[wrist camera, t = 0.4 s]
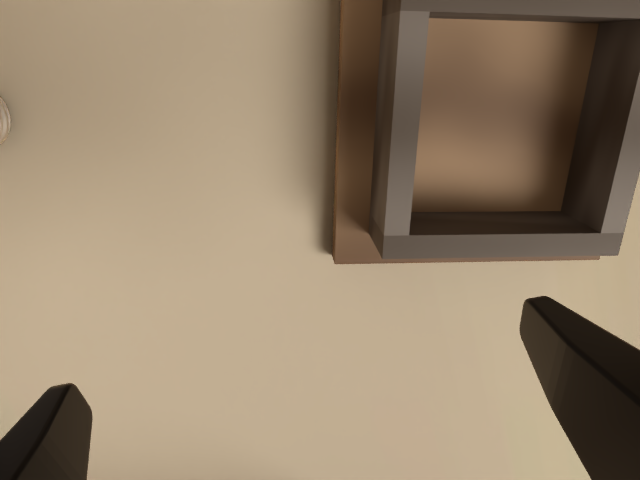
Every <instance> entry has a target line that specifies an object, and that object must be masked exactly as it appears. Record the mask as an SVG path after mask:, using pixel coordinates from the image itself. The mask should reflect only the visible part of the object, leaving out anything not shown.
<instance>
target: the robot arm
mask: <svg viewBox="0 0 640 480" xmlns="http://www.w3.org/2000/svg"><path fill="white" fill-rule="evenodd" d="M520 335H521V339H522V341H523V343H524V346H525V348H526V350H527V353H528V355H529V357H530V360H531V362H532V365H533V367H534V369H535V372H536V374H537V376H538V379H539V381H540V383H541V386H542V388H543V390H544V393H545V395H546V397H547V399H548V402H549V404H550V406H551V408H552V410H553V412H554V414H555V416H556V417H557V419H558V421H559V423H560V425H561V426H562V428H563V430H564V432H565V433H566V435H567V437H568V439H569V441H570V442H571V444H572V446H573V448H574V449H575V451H576V453H577V455H578V456H579V458H580V460H581V462H582V464H583V465H584V467H585V469H586V471H587V472H588V474H589V476H590V478H591V480H640V350H639V349H637V348H636V347H634V346H632V345H630V344H629V343H627V342H625V341H624V340H622V339H620V338H618V337H617V336H615V335H613V334H611V333H610V332H608V331H606V330H605V329H603V328H601V327H599V326H598V325H596V324H594V323H593V322H591V321H589V320H587V319H586V318H584V317H582V316H581V315H579V314H577V313H575V312H574V311H572V310H570V309H568V308H567V307H565V306H563V305H562V304H560V303H558V302H556V301H555V300H553V299H551V298H549V297H547V296H540V297H535V298H529V299H527V300H525V302H524V304H523V310H522V316H521V322H520ZM91 429H92V411H91V408H90V406H89V405H88V403H87V401H86V400H85V398H84V397H83V395H82V394H81V392H80V391H79V389H78V388H77V386H76V385H74V384H72V383H67V384H62V385H57V386H53V387H50V388H49V389H48V390H47V391H46V392H45V393H44V394H43V395H42V396H41V397H40V398H39V399H38V400H37V401H36V403H35V404H34V405H33V406H32V407H31V408H30V409H29V410H28V411H27V412H26V413H25V414H24V416H23V417H22V418H21V419H20V420H19V421H18V422H17V423H16V424H15V425H14V426H13V427H12V428H11V430H10V431H9V432H8V433H7V434H6V435H5V436H4V437H3V438H2V439H1V440H0V480H87V470H88V460H89V449H90V439H91Z"/></svg>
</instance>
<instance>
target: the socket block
mask: <svg viewBox="0 0 640 480" xmlns="http://www.w3.org/2000/svg"><path fill="white" fill-rule="evenodd" d="M639 172H640V0H341V10H340V40H339V70H338V100H337V129H336V159H335V189H334V219H333V249H332V257H333V260H334V263H335V264H371V263H430V262H490V261H550V260H599V259H600V256H616V255H618V254H619V250H620V246H621V242H622V238H623V234H624V230H625V226H626V222H627V219H628V215H629V211H630V207H631V203H632V199H633V195H634V191H635V188H636V184H637V180H638V176H639Z"/></svg>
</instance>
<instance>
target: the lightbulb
mask: <svg viewBox="0 0 640 480" xmlns="http://www.w3.org/2000/svg"><path fill="white" fill-rule="evenodd" d="M10 128H11V117H10V113H9V110H8V108H7V106H6V104H5V102H4V101H3V99H2V98H1V97H0V144H1V143H3V142H4V141H5V139H6V138H7V136H8V134H9V132H10Z"/></svg>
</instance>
